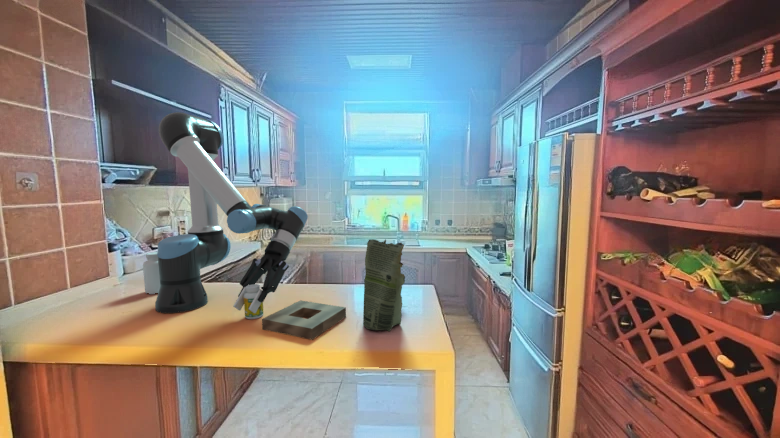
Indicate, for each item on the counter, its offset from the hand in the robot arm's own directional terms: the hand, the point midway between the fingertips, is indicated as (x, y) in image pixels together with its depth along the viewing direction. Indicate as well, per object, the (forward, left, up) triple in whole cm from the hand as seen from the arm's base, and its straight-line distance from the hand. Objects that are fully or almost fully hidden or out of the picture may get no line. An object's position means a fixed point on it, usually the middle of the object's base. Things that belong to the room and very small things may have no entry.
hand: (244, 309), depth 103 cm
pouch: (+40, +13, -4) cm, 42 cm away
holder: (+18, +6, -3) cm, 19 cm away
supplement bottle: (0, +4, -4) cm, 5 cm away
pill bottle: (-54, +9, -4) cm, 55 cm away
